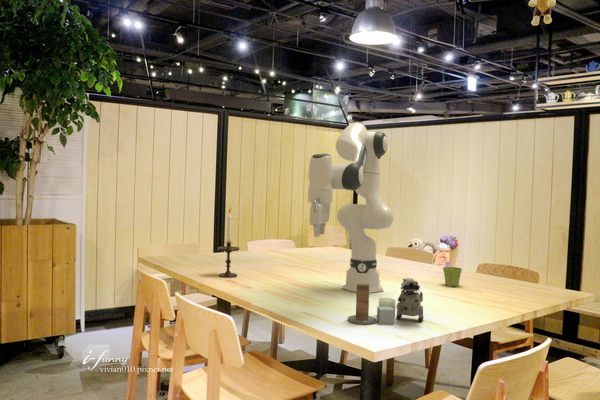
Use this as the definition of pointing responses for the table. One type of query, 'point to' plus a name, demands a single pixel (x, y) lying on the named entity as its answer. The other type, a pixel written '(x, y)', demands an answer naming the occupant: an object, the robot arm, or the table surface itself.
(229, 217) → the candlestick
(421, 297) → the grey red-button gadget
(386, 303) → the pale green cylinder
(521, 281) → the table surface
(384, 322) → the bluegrey cube
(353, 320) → the slate coaster
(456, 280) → the plant pot
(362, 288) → the walnut block
